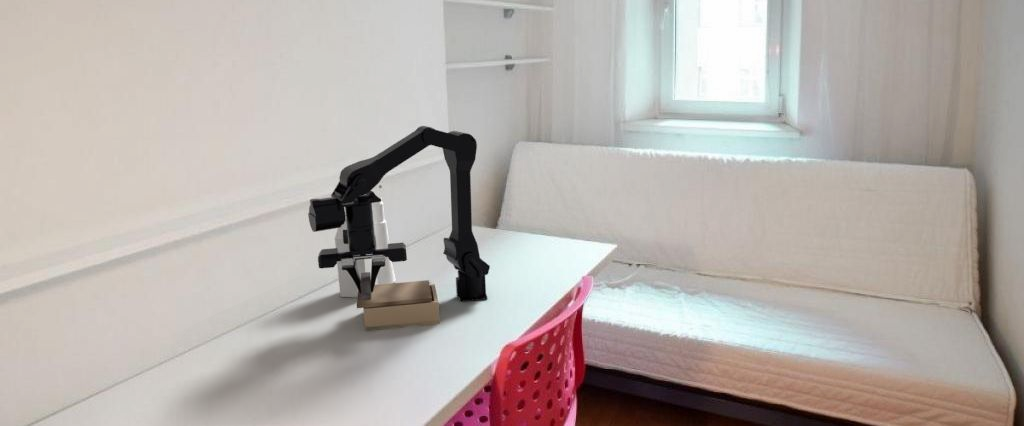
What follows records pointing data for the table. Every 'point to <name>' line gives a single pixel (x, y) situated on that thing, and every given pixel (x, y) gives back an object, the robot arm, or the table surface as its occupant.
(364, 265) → the milk carton
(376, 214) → the cosmetic bottle
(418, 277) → the table surface
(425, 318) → the box
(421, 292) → the lid
